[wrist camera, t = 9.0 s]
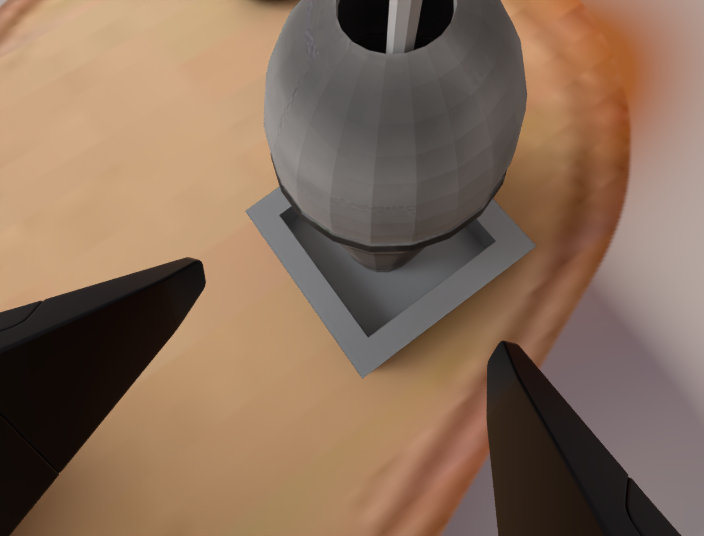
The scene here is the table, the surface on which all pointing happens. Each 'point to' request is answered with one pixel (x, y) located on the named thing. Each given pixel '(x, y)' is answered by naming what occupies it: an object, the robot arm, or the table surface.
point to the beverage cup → (393, 119)
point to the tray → (387, 278)
